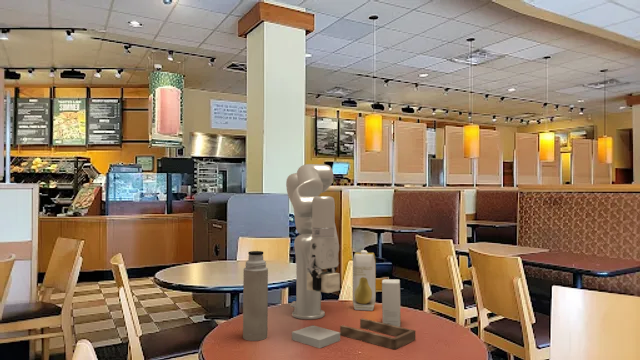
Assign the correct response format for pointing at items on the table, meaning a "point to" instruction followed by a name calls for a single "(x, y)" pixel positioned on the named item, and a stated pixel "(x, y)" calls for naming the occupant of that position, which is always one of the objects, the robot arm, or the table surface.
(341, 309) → the table surface
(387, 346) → the shelf bay
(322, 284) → the parcel
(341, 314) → the table surface
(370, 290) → the juice carton
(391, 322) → the skincare box
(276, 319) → the table surface
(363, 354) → the table surface
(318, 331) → the plate
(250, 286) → the thermos bottle
